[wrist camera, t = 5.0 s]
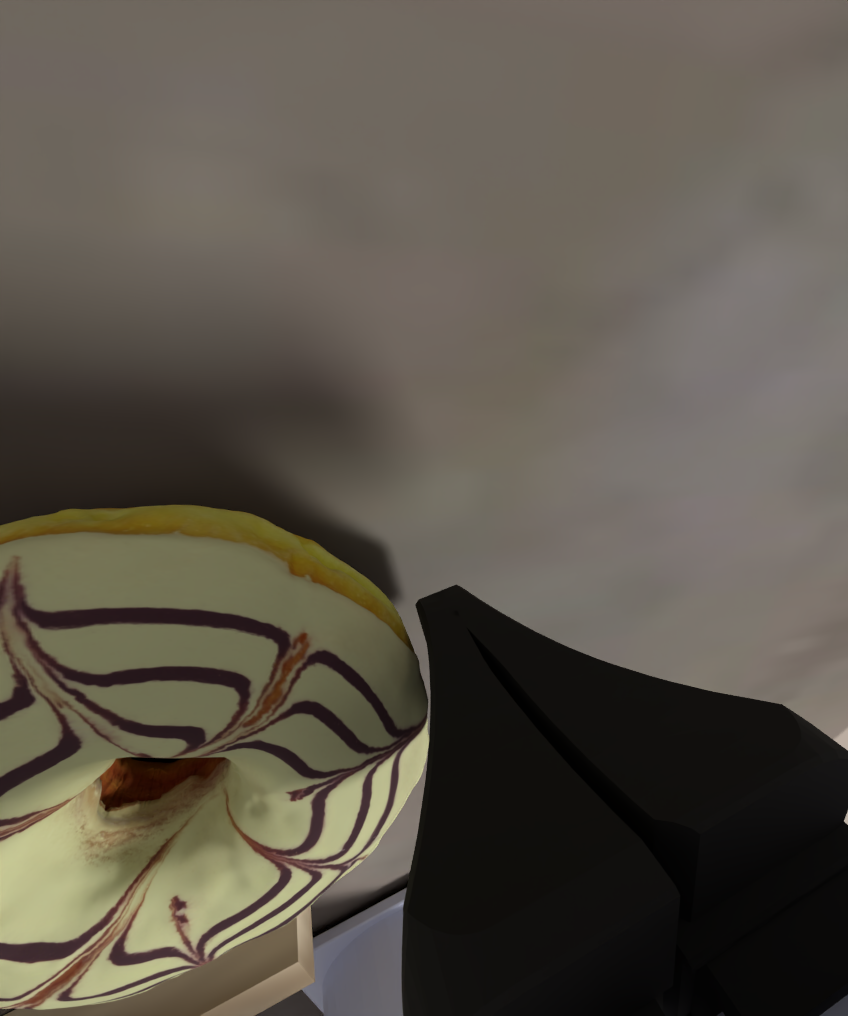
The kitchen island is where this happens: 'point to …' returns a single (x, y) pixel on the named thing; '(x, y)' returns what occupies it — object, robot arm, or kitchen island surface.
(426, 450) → the kitchen island surface
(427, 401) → the kitchen island surface
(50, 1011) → the wooden bar frame
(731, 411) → the kitchen island surface
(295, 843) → the decorated donut
